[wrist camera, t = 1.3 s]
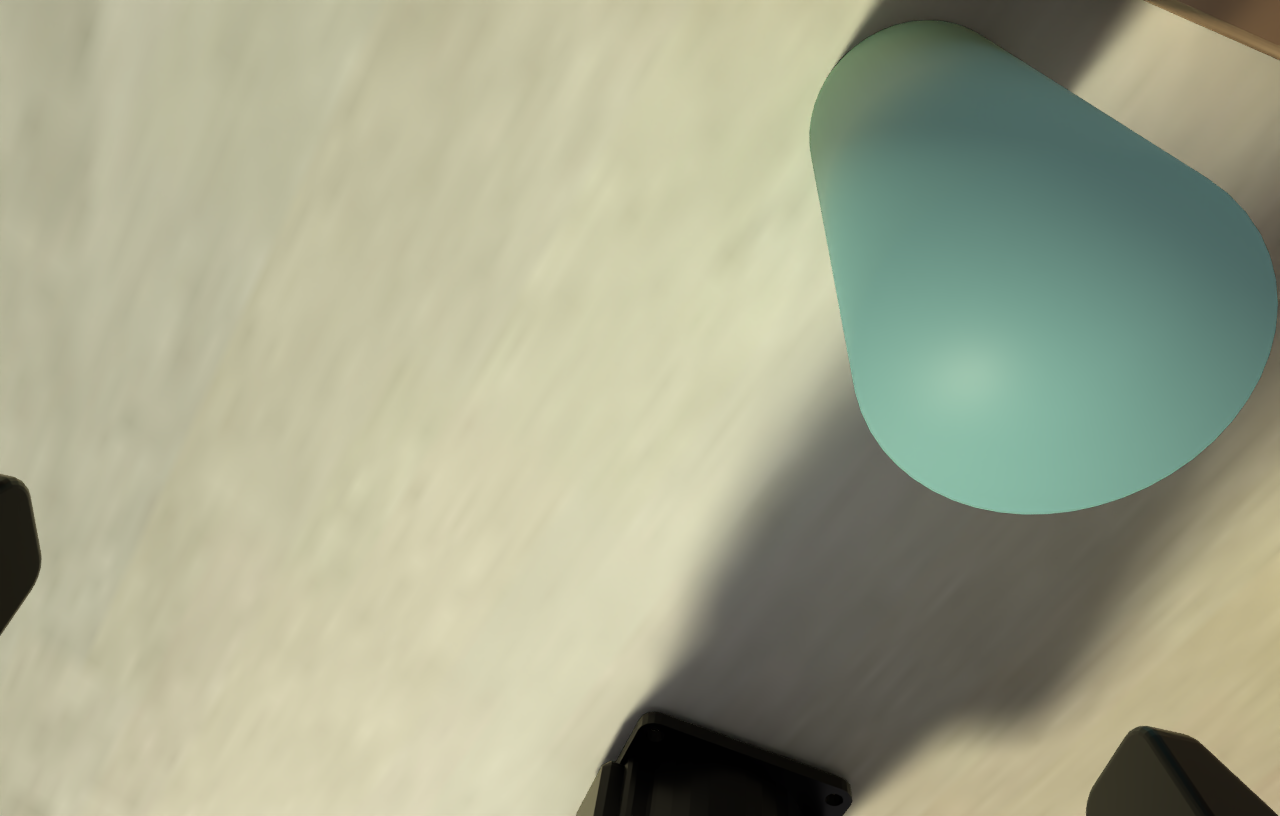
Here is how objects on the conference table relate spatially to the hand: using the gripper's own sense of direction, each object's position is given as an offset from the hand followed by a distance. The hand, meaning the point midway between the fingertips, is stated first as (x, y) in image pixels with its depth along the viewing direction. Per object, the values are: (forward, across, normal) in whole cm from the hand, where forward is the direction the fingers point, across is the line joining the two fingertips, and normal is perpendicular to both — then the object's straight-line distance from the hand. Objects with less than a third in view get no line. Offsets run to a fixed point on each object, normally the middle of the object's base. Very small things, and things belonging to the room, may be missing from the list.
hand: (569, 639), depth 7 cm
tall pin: (+13, -4, -2) cm, 14 cm away
